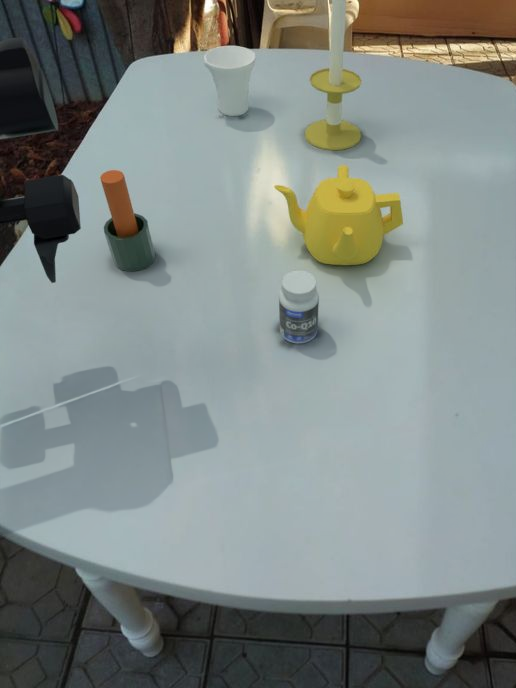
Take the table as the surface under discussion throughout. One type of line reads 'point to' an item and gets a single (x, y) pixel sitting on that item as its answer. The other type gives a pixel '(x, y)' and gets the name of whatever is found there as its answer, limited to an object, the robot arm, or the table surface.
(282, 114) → the table surface
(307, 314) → the pill bottle
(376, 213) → the teapot
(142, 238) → the green cylindrical container
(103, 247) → the table surface
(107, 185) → the orange cylindrical rod
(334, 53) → the candle
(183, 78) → the table surface
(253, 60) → the cup
